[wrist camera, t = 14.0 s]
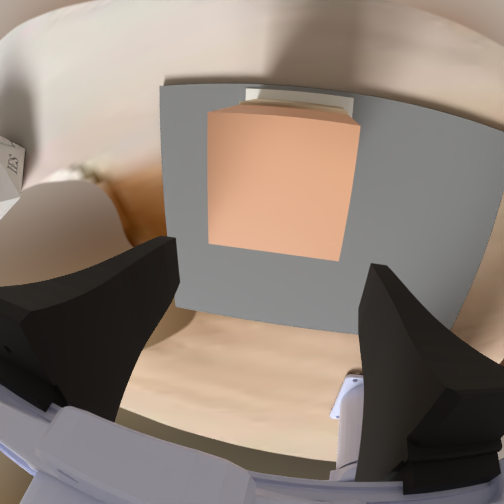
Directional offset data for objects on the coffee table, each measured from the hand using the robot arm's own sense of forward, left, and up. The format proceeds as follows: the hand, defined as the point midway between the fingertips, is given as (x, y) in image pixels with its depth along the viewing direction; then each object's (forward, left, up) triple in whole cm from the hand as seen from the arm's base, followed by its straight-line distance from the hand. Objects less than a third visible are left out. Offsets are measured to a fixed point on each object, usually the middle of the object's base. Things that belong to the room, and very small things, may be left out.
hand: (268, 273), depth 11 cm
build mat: (-3, +2, -10) cm, 11 cm away
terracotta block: (0, -3, -5) cm, 6 cm away
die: (+27, -1, -11) cm, 29 cm away
